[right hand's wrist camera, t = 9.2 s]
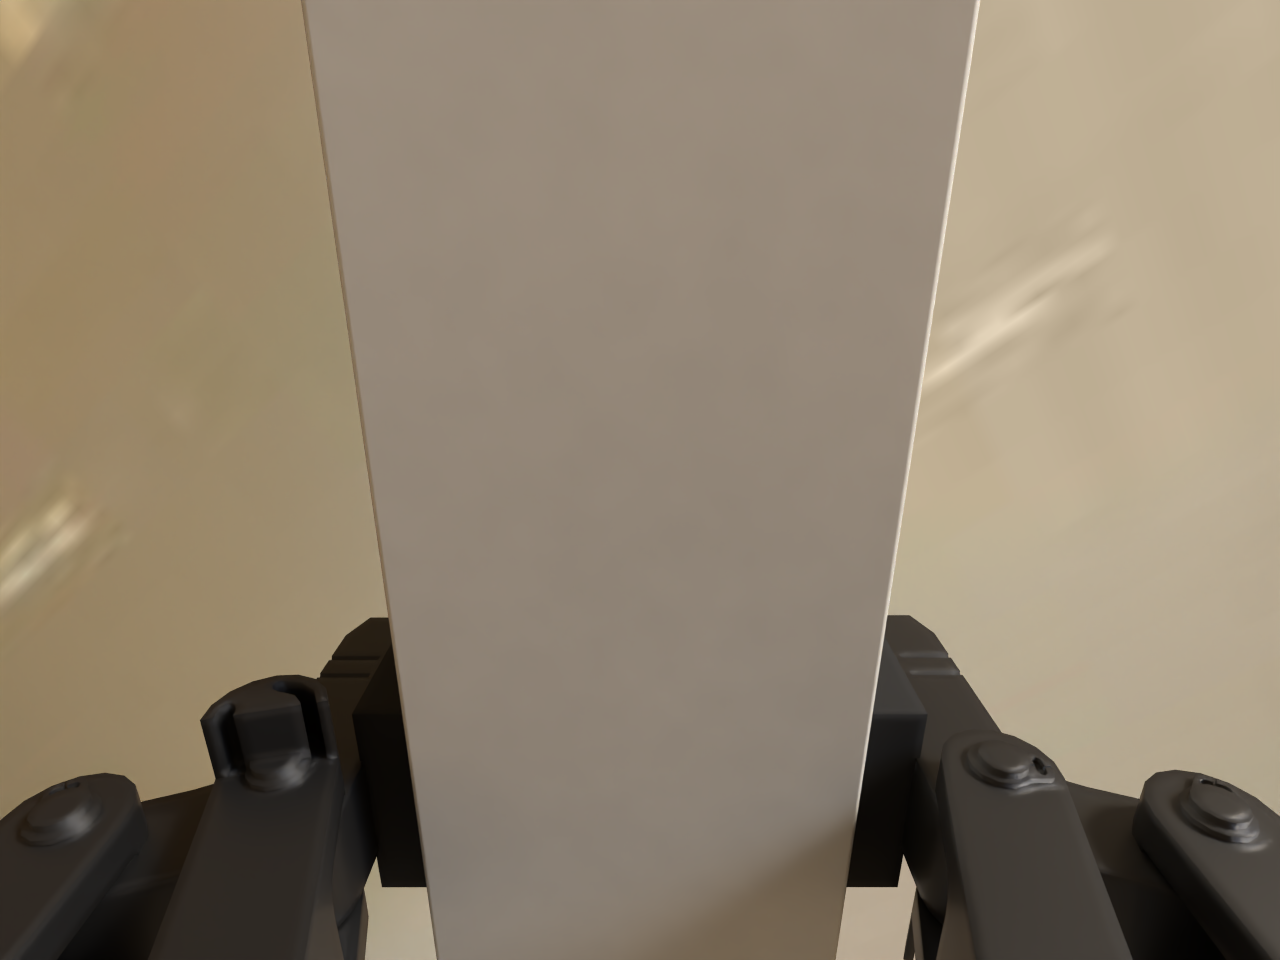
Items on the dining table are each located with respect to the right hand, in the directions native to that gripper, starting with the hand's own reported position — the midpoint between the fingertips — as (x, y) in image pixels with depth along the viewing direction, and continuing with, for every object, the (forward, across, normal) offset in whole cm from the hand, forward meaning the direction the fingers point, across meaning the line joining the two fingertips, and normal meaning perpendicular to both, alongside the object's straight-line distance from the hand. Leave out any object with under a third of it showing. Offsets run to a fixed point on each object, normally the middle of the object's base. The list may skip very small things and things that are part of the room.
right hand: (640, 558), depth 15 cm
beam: (0, 0, -23) cm, 23 cm away
